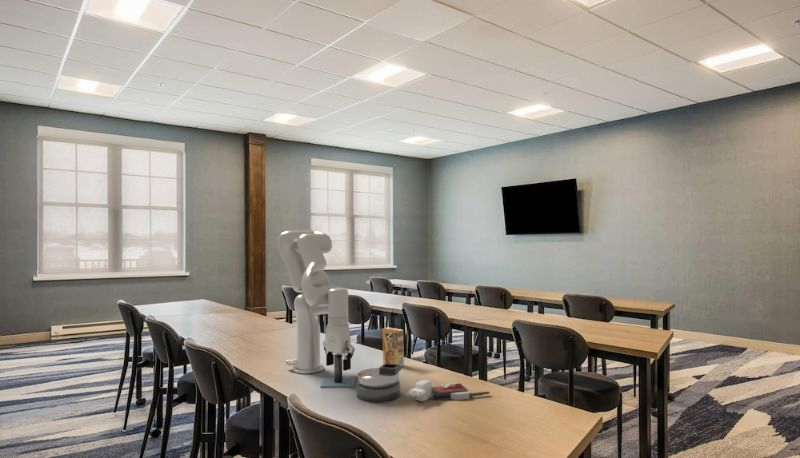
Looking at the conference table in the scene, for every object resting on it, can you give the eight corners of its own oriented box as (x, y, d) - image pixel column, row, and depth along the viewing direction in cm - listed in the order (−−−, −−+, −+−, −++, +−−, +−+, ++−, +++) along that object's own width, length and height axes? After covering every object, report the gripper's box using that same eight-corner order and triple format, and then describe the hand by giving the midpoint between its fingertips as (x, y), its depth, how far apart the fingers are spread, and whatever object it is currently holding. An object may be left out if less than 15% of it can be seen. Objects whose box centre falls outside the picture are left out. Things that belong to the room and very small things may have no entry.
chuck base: (355, 403, 153) (355, 390, 153) (357, 388, 168) (357, 377, 168) (401, 402, 153) (401, 389, 153) (399, 387, 168) (399, 376, 168)
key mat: (320, 387, 169) (320, 386, 169) (323, 379, 179) (323, 377, 179) (353, 387, 169) (353, 385, 169) (355, 379, 179) (355, 377, 179)
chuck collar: (390, 390, 152) (390, 375, 152) (351, 386, 156) (351, 371, 156) (403, 378, 165) (403, 364, 165) (367, 375, 169) (367, 361, 170)
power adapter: (417, 408, 148) (417, 389, 148) (404, 405, 151) (404, 386, 151) (433, 397, 157) (433, 380, 158) (421, 395, 160) (421, 378, 160)
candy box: (404, 365, 197) (404, 329, 198) (397, 368, 194) (397, 330, 195) (388, 362, 203) (388, 326, 204) (382, 364, 200) (382, 328, 200)
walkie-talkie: (435, 404, 153) (491, 397, 158) (435, 390, 153) (490, 384, 158) (426, 395, 161) (479, 389, 167) (426, 382, 161) (479, 377, 167)
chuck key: (337, 383, 172) (337, 356, 172) (332, 381, 174) (332, 354, 174) (344, 381, 174) (343, 354, 174) (339, 380, 176) (339, 353, 176)
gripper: (315, 319, 178) (315, 365, 177) (345, 325, 166) (345, 374, 165) (331, 317, 183) (331, 361, 183) (361, 322, 171) (361, 369, 171)
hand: (338, 367), depth 174 cm, fingers open, 9 cm apart
